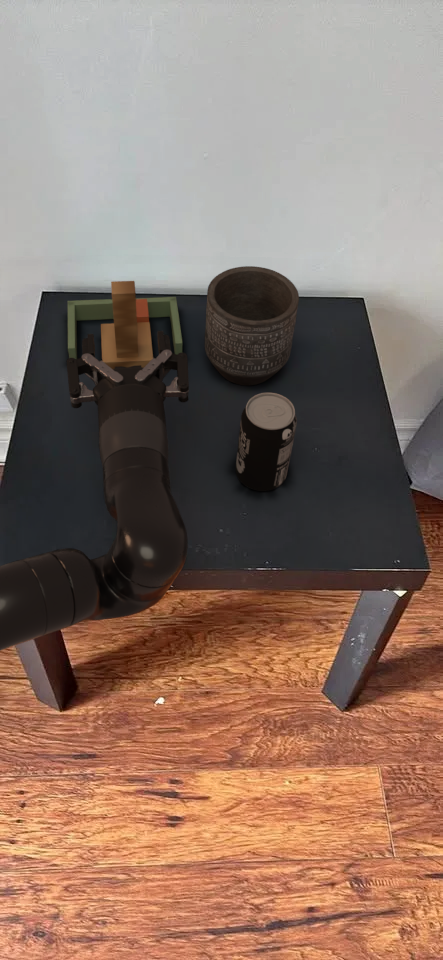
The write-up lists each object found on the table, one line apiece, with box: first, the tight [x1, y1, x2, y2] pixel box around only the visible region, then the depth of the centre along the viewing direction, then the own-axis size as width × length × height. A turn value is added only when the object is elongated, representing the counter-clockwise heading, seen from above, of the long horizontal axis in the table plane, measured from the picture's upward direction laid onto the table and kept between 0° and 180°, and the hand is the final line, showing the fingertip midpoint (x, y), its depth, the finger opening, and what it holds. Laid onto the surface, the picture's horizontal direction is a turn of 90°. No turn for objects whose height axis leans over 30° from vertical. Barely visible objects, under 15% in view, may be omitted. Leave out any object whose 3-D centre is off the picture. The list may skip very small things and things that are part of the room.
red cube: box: [136, 299, 150, 322], centre depth 110 cm, size 4×4×4 cm
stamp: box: [100, 280, 154, 369], centre depth 102 cm, size 7×8×14 cm
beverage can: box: [235, 392, 298, 492], centre depth 91 cm, size 7×7×12 cm
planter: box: [204, 265, 300, 386], centre depth 103 cm, size 12×12×13 cm
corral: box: [67, 296, 183, 359], centre depth 109 cm, size 16×10×3 cm, turn 97°
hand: (125, 337), depth 93 cm, fingers open, 8 cm apart
